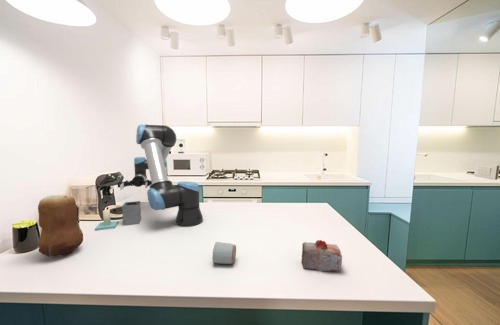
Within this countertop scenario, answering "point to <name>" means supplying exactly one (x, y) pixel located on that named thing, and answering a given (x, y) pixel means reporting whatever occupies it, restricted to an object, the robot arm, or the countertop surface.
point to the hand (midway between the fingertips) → (133, 186)
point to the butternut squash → (58, 226)
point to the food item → (321, 256)
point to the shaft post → (106, 221)
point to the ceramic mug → (224, 253)
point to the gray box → (131, 213)
